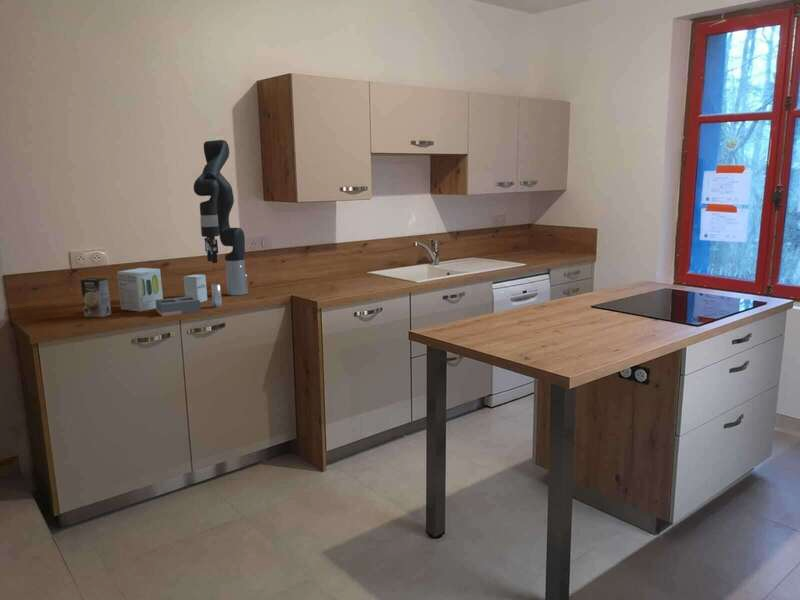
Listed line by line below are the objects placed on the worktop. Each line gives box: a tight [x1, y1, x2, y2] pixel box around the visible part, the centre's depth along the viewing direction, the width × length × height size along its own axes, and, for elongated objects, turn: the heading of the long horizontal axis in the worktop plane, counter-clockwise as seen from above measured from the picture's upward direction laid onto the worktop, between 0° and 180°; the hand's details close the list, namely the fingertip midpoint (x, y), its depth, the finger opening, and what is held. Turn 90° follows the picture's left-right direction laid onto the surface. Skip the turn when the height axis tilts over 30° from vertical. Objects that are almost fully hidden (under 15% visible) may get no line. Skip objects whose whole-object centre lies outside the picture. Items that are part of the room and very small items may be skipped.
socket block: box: [155, 296, 202, 317], centre depth 277 cm, size 16×14×5 cm
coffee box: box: [80, 277, 112, 318], centre depth 272 cm, size 9×6×16 cm
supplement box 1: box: [117, 267, 164, 312], centre depth 287 cm, size 13×13×18 cm
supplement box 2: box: [183, 274, 208, 303], centre depth 299 cm, size 7×7×13 cm
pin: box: [210, 283, 223, 309], centre depth 285 cm, size 4×4×10 cm
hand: (212, 262), depth 282 cm, fingers open, 8 cm apart
